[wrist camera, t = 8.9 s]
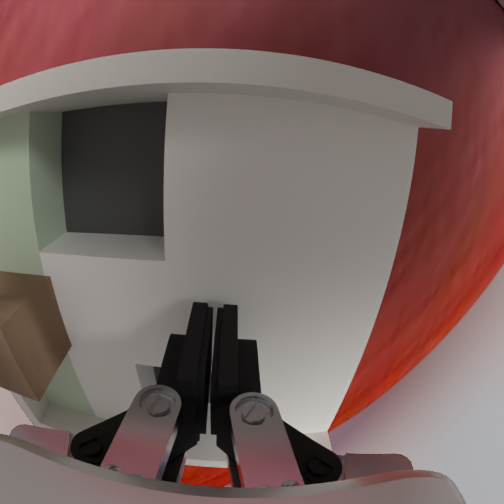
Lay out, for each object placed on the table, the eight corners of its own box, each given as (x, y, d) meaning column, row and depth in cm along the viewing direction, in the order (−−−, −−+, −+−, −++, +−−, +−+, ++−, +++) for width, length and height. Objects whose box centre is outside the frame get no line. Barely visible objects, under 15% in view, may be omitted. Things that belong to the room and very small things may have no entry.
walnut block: (50, 276, 10) (0, 327, 7) (71, 345, 12) (39, 402, 8) (-3, 270, 10) (-50, 311, 7) (19, 334, 12) (-15, 379, 8)
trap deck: (385, 106, 11) (452, 101, 7) (315, 406, 19) (329, 462, 14) (3, 109, 10) (-60, 115, 5) (58, 380, 17) (34, 426, 13)
